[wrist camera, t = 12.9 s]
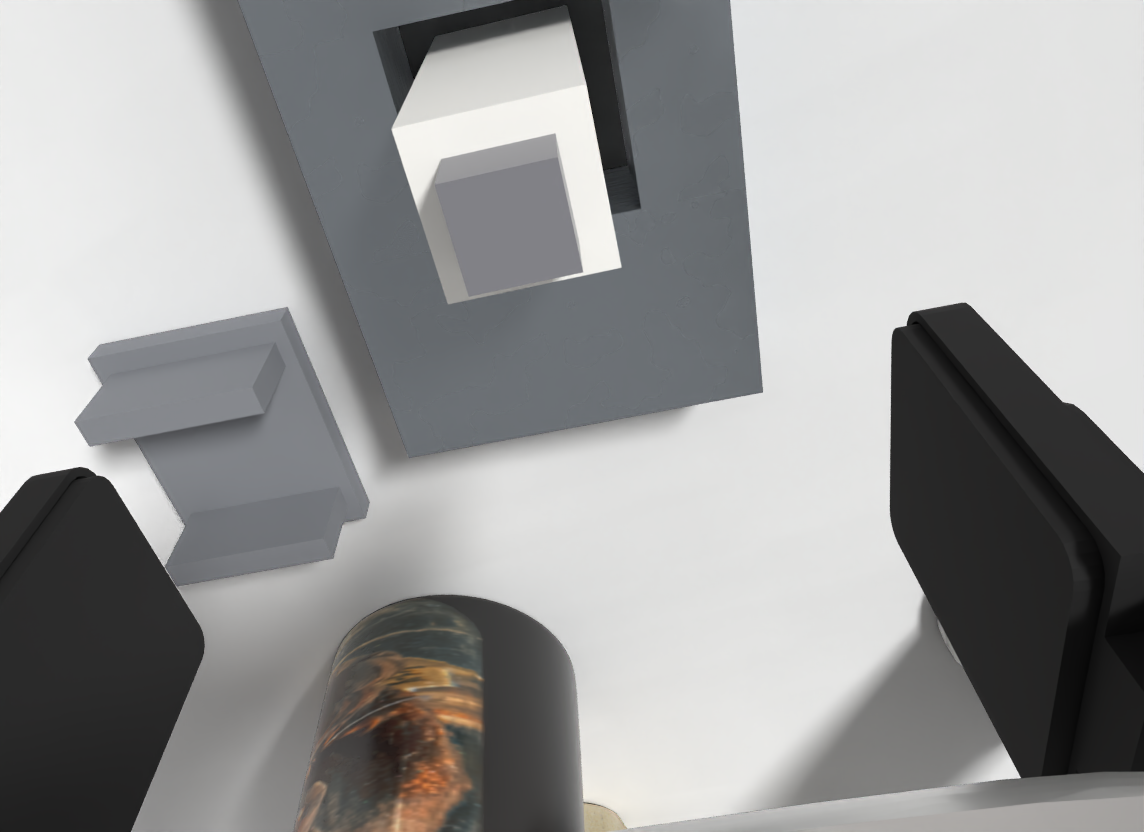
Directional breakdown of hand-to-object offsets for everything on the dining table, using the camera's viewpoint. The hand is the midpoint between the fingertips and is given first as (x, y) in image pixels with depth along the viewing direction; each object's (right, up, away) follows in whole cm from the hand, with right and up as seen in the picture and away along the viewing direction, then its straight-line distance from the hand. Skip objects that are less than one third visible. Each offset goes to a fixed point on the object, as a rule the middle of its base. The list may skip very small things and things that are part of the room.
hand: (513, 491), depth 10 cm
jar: (-5, -12, +31) cm, 34 cm away
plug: (-1, +11, +16) cm, 20 cm away
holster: (-12, 0, +23) cm, 26 cm away
